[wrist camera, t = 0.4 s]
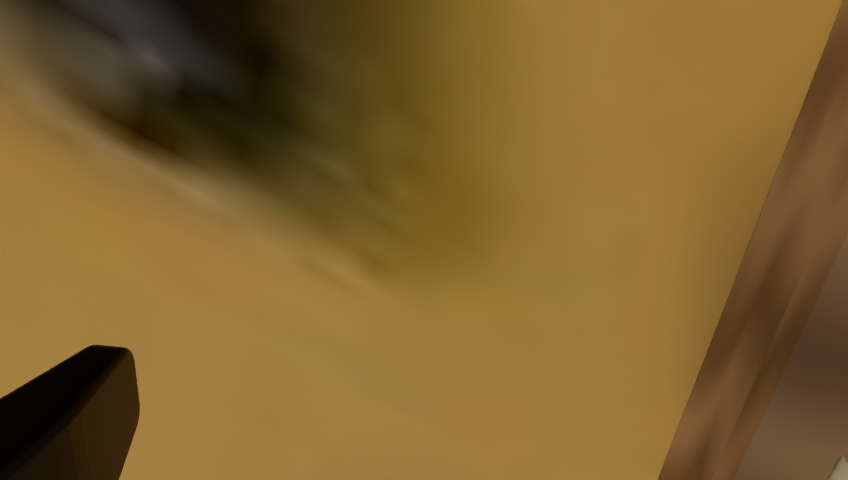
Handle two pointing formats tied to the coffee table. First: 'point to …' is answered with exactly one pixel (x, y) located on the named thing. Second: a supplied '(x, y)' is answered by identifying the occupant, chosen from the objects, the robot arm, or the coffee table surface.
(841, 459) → the cream square block
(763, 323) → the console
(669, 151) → the coffee table surface
